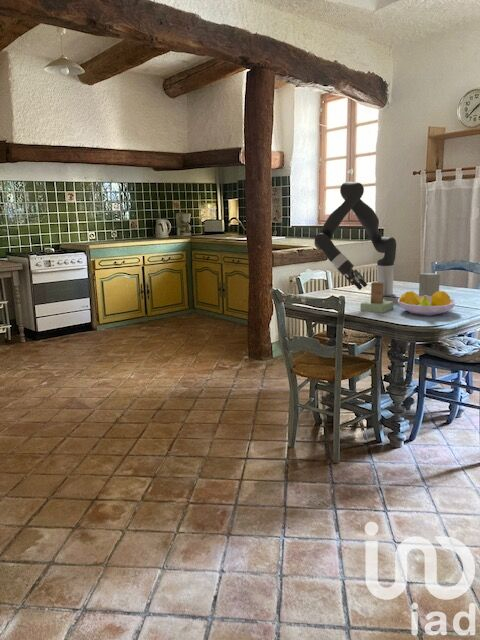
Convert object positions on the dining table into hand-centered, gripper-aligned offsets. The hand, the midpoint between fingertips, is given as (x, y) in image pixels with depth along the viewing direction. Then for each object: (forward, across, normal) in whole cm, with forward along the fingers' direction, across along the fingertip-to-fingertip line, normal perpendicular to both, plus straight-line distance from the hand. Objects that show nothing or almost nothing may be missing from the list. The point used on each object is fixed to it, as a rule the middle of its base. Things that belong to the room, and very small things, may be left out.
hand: (363, 287), depth 261 cm
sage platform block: (+13, 0, +3) cm, 13 cm away
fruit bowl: (+29, 0, -14) cm, 32 cm away
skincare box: (+27, +25, -12) cm, 39 cm away
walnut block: (+10, 0, 0) cm, 10 cm away
